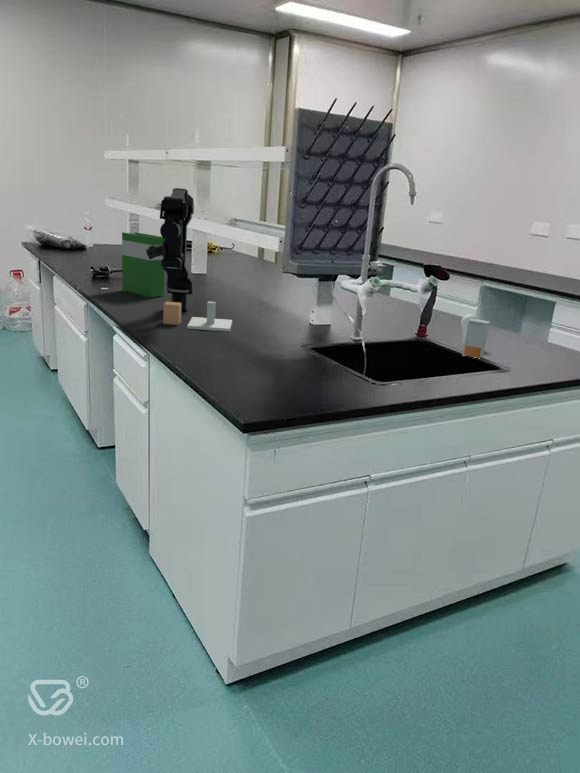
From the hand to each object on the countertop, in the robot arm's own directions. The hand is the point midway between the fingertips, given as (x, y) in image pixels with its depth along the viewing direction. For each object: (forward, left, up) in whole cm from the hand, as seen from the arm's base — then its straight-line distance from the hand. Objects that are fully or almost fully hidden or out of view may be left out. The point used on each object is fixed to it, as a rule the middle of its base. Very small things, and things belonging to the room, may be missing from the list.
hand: (172, 285), depth 198 cm
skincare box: (+17, +99, -13) cm, 101 cm away
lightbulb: (+1, +102, -13) cm, 103 cm away
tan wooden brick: (0, 0, -13) cm, 13 cm away
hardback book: (-51, -20, -13) cm, 57 cm away
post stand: (0, +13, -13) cm, 18 cm away
